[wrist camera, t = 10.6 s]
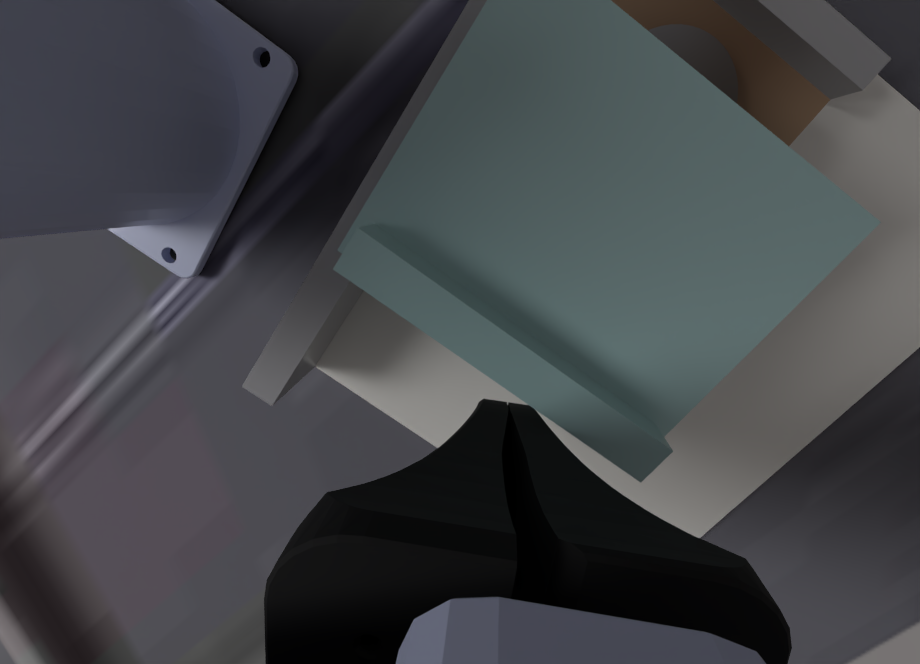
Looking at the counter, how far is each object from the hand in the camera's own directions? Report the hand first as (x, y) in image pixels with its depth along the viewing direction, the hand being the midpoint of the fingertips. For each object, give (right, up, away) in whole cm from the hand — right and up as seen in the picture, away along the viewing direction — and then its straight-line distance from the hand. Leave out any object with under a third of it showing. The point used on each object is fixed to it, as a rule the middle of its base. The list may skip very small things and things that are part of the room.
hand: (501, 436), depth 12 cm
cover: (+2, +5, -1) cm, 6 cm away
